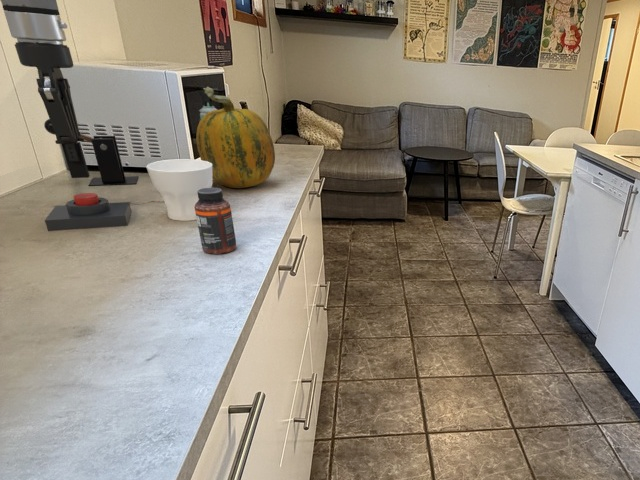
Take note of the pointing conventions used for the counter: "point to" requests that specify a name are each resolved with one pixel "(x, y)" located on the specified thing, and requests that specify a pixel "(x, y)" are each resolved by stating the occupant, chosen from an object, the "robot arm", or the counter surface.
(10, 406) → the counter surface
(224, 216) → the supplement bottle
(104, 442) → the counter surface
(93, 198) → the push button
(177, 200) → the cup
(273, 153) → the pumpkin
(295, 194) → the counter surface
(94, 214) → the switch box
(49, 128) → the switch lever
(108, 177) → the lever bracket
